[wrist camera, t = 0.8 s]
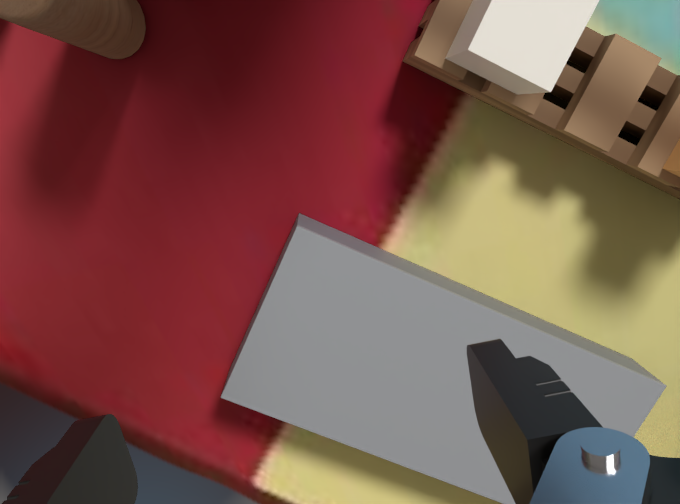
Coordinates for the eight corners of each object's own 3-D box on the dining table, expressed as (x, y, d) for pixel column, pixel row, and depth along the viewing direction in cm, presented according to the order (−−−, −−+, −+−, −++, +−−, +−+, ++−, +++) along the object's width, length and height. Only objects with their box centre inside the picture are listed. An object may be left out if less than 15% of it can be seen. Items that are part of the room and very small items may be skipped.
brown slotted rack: (443, -29, 32) (462, -50, 28) (739, 128, 36) (797, 131, 31) (401, 61, 34) (414, 55, 29) (692, 206, 37) (741, 218, 33)
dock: (299, 213, 35) (297, 225, 32) (631, 358, 39) (666, 386, 35) (230, 368, 38) (220, 397, 34) (548, 490, 42) (572, 529, 38)
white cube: (484, -25, 29) (515, -48, 24) (557, 15, 29) (600, -2, 25) (445, 58, 30) (467, 49, 25) (516, 94, 30) (550, 92, 26)
